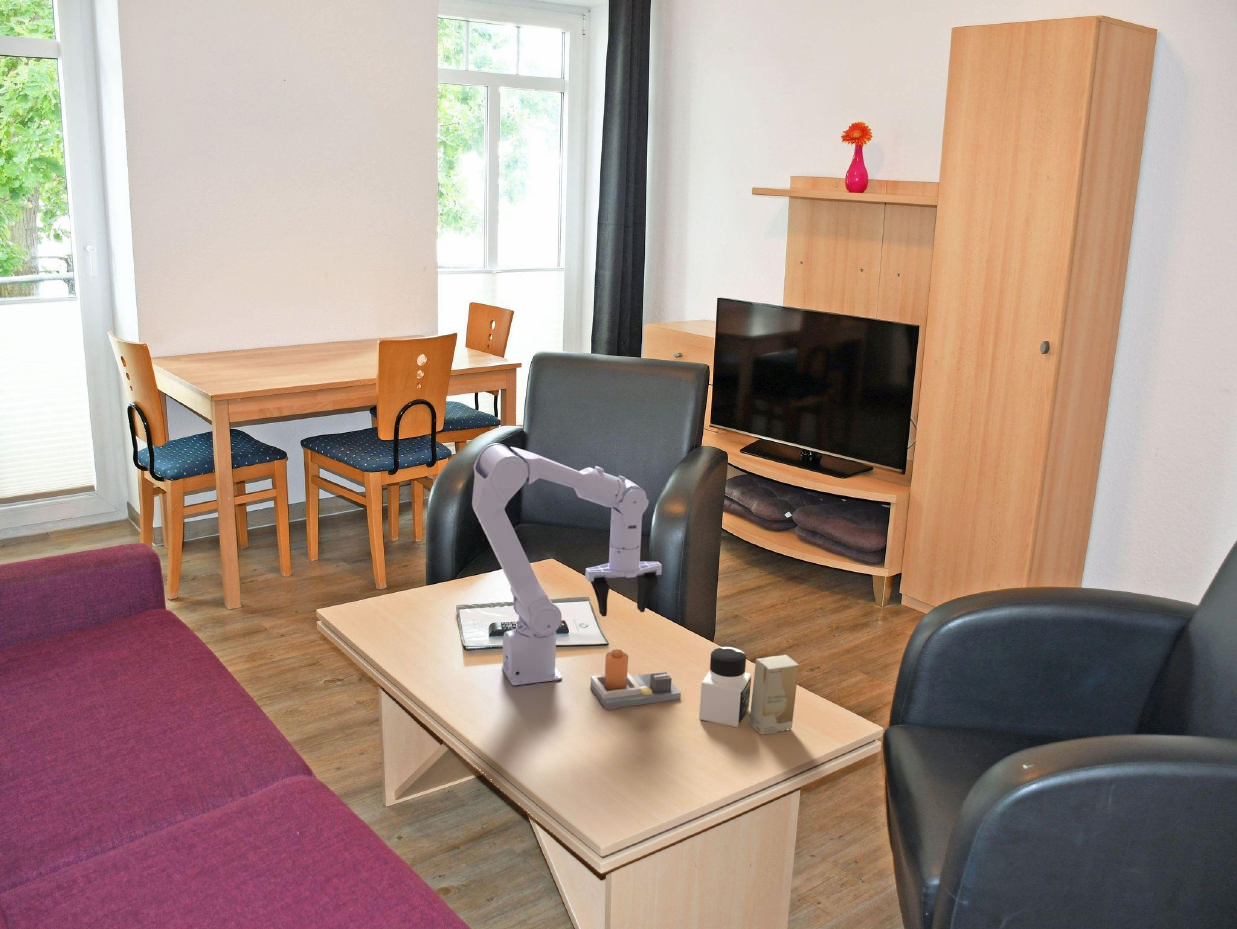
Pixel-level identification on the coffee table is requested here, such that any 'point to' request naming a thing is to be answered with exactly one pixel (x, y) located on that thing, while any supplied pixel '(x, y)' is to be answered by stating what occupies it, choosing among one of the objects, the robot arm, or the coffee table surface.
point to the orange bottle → (616, 670)
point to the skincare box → (773, 694)
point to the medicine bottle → (725, 688)
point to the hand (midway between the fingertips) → (621, 612)
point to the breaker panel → (631, 692)
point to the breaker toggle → (660, 682)
